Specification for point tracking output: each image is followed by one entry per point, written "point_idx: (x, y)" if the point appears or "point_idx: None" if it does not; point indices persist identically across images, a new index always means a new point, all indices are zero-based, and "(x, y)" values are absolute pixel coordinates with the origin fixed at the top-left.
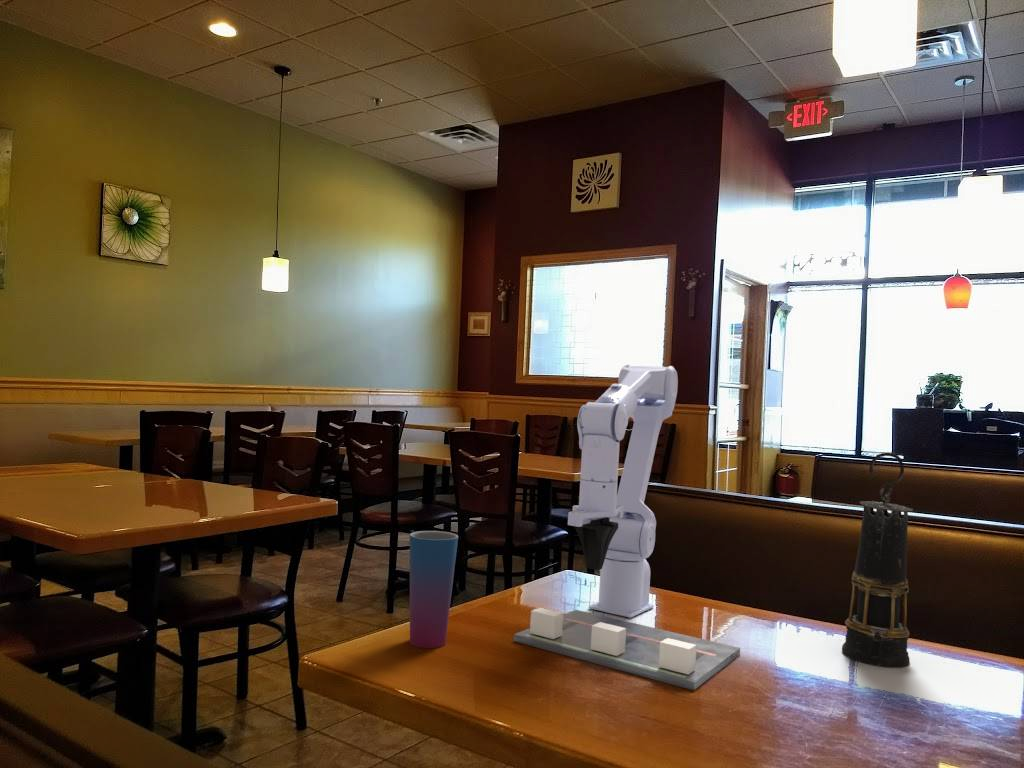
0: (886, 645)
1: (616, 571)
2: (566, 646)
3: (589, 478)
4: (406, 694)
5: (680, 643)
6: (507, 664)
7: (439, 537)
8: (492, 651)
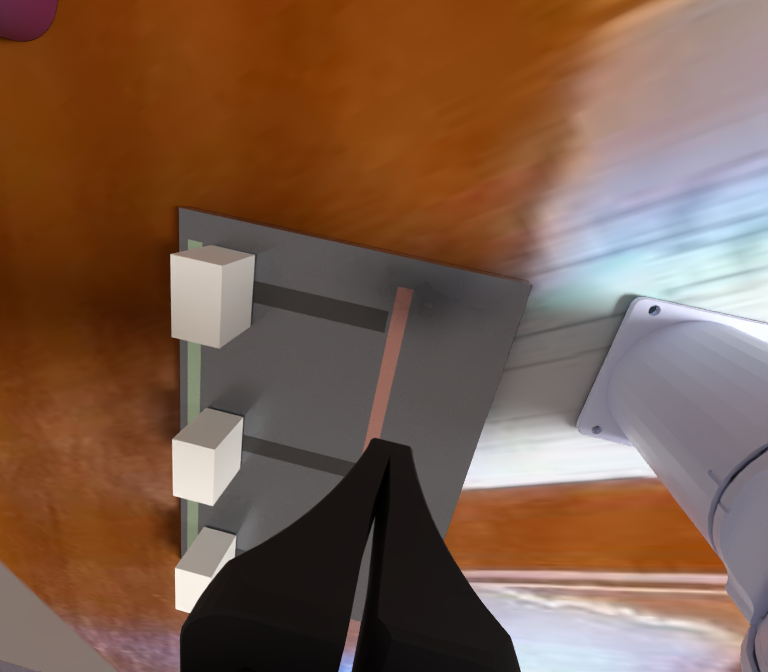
0: None
1: (682, 467)
2: (188, 357)
3: None
4: None
5: (196, 596)
6: (55, 260)
7: None
8: (92, 191)
